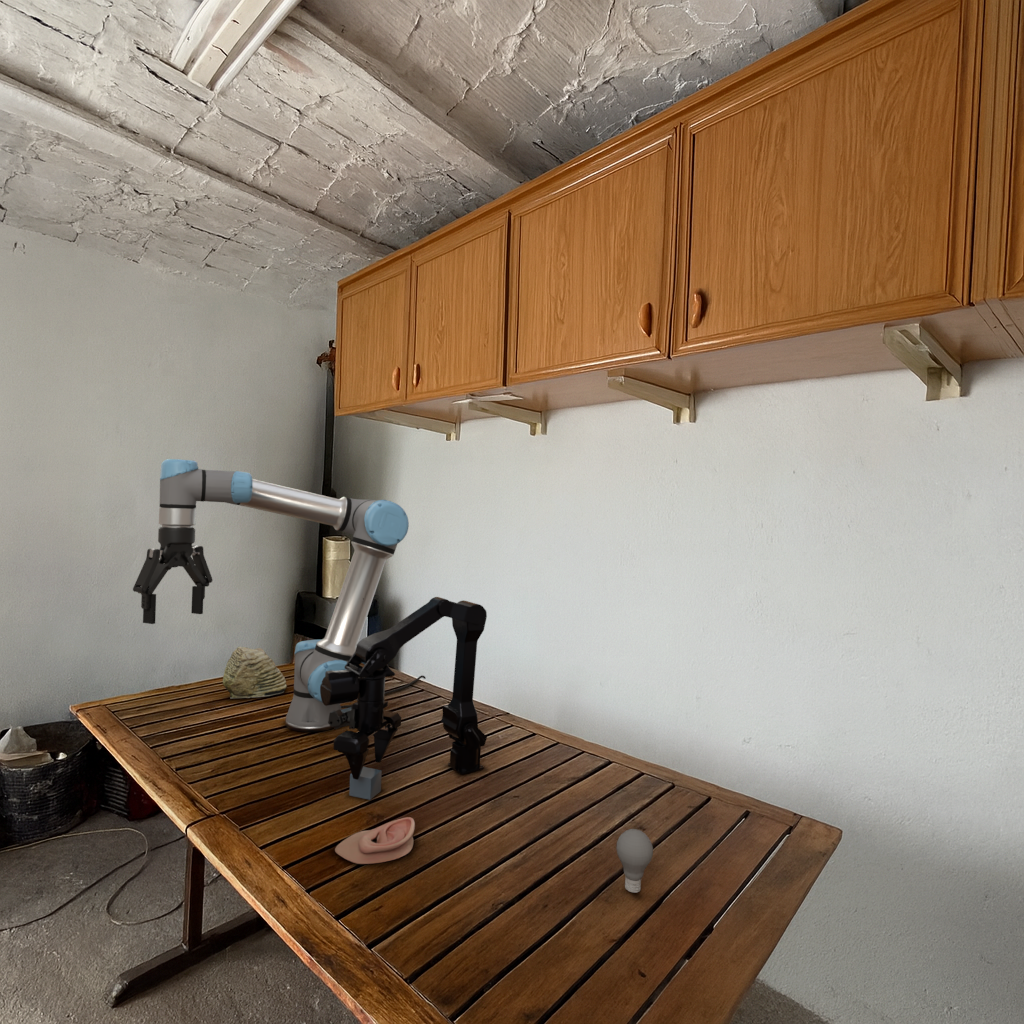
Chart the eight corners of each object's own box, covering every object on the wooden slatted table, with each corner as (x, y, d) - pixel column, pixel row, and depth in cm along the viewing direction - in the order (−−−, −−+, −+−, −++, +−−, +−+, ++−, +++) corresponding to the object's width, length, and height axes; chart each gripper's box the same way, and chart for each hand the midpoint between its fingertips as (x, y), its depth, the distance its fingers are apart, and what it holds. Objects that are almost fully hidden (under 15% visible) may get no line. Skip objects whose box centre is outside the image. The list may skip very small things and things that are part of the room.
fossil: (218, 695, 195) (220, 647, 195) (278, 685, 208) (279, 640, 207) (228, 703, 189) (230, 653, 188) (289, 692, 201) (290, 645, 201)
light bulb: (610, 879, 108) (613, 822, 108) (644, 879, 109) (647, 822, 109) (619, 902, 102) (622, 840, 102) (655, 901, 103) (658, 840, 103)
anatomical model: (327, 836, 111) (356, 806, 122) (326, 858, 111) (355, 826, 122) (398, 848, 108) (421, 815, 119) (397, 871, 108) (420, 836, 119)
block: (360, 786, 139) (361, 766, 139) (381, 791, 138) (381, 770, 137) (349, 795, 135) (349, 774, 135) (370, 800, 133) (371, 778, 133)
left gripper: (205, 524, 159) (202, 608, 159) (116, 527, 135) (112, 625, 136) (230, 525, 157) (226, 611, 157) (143, 528, 133) (139, 629, 133)
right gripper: (360, 682, 147) (357, 748, 147) (312, 705, 129) (308, 781, 129) (403, 688, 144) (400, 756, 144) (360, 713, 126) (356, 791, 126)
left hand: (174, 618), depth 146 cm, fingers open, 13 cm apart
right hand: (367, 770), depth 136 cm, fingers open, 9 cm apart
